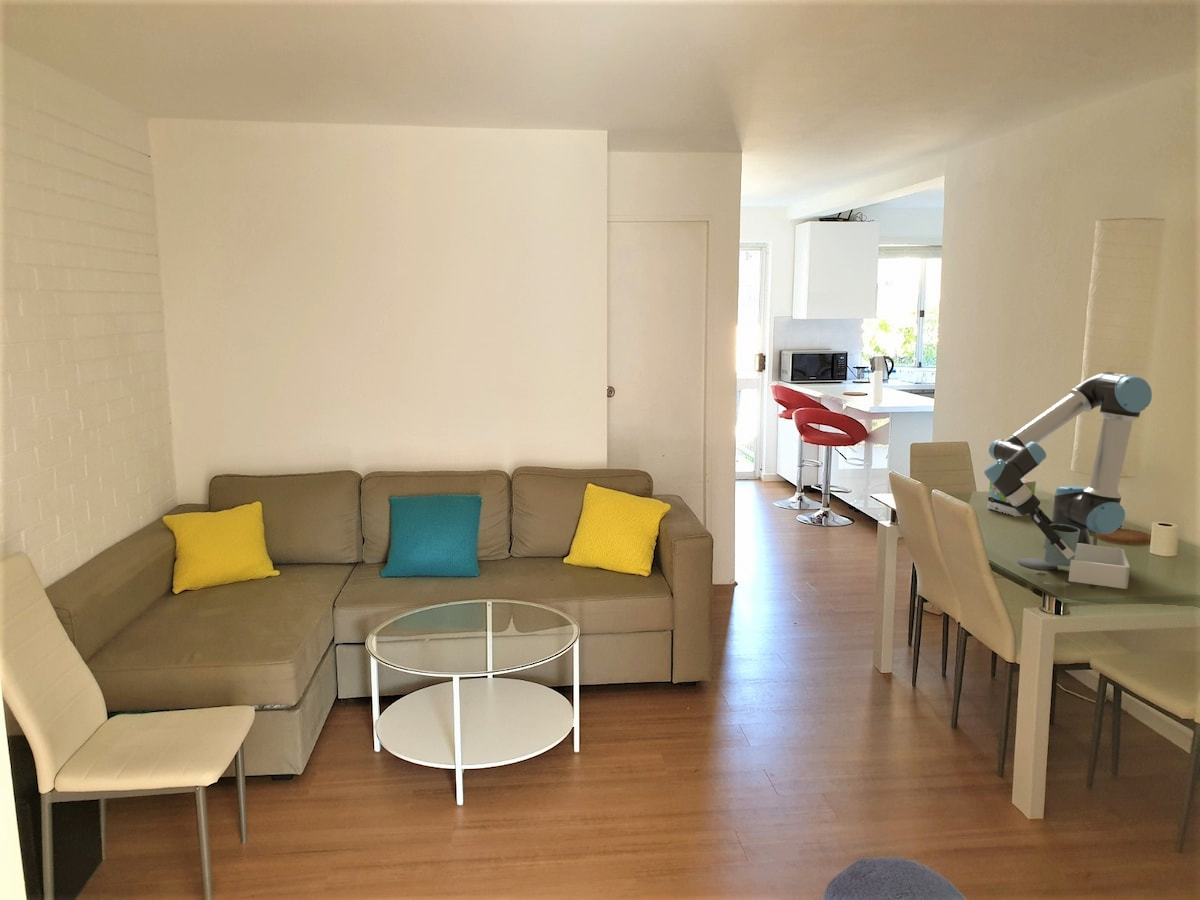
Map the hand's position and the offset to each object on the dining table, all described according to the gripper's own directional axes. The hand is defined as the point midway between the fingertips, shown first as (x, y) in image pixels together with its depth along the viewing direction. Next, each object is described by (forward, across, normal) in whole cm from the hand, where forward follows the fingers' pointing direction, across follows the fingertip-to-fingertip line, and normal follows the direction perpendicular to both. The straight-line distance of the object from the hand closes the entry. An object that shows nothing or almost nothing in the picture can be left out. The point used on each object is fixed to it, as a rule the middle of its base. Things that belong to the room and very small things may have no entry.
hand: (1070, 552), depth 290 cm
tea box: (-8, -78, -18) cm, 80 cm away
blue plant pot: (+1, 0, -5) cm, 5 cm away
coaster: (-2, -4, -11) cm, 12 cm away
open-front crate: (+10, -1, +1) cm, 10 cm away
